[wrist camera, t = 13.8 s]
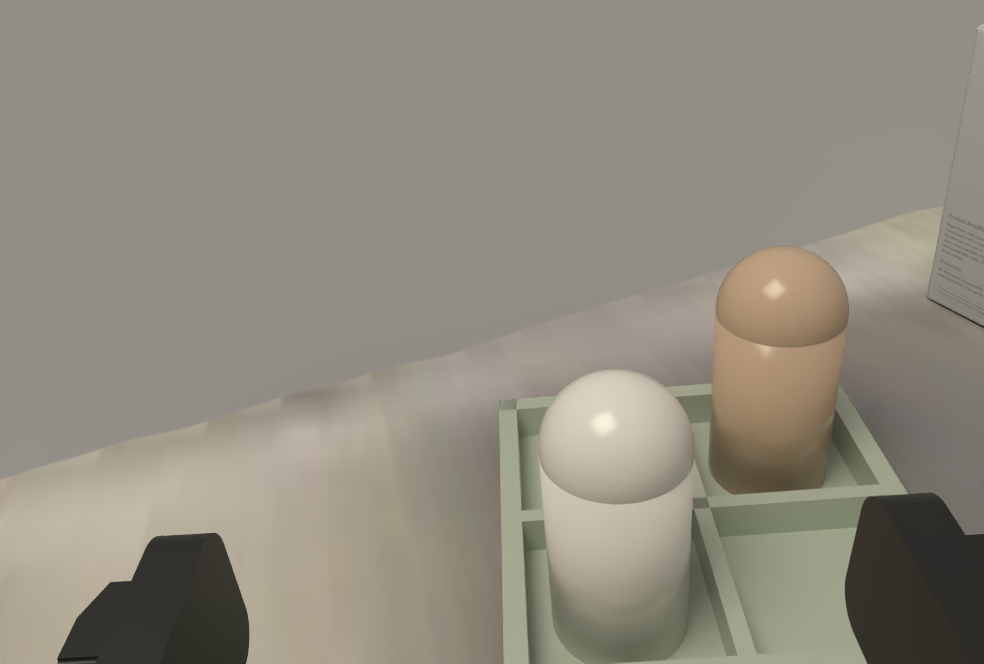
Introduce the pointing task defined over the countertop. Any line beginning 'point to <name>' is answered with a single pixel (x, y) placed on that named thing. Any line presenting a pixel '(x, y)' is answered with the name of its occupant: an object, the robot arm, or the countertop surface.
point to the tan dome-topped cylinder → (776, 371)
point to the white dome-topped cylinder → (617, 516)
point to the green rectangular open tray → (712, 549)
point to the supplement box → (964, 207)
